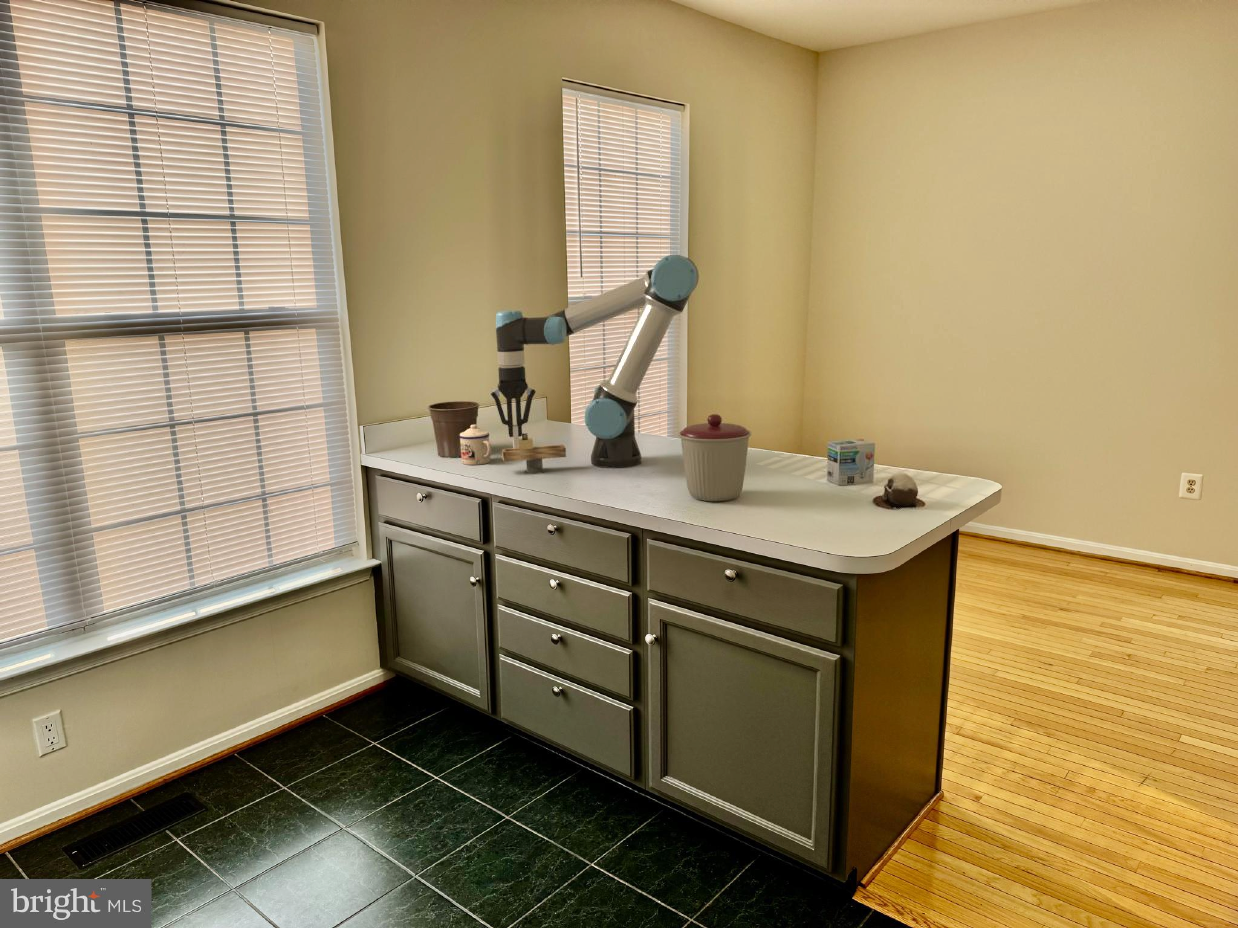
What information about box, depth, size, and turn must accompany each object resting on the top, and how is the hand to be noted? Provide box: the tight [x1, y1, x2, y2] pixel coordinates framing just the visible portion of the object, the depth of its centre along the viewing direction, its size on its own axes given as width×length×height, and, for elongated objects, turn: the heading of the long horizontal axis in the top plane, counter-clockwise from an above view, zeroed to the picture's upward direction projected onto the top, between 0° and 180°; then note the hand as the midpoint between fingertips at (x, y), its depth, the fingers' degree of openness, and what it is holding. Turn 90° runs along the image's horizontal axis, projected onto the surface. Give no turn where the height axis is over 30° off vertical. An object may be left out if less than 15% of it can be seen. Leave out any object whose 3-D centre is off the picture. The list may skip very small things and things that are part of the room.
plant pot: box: [427, 400, 480, 459], centre depth 283 cm, size 16×16×16 cm
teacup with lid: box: [459, 425, 492, 466], centre depth 269 cm, size 12×9×12 cm
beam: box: [501, 444, 567, 474], centre depth 256 cm, size 18×6×7 cm, turn 103°
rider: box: [518, 432, 534, 451], centre depth 255 cm, size 4×3×6 cm
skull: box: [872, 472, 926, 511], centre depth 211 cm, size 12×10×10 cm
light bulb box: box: [826, 438, 876, 486], centre depth 233 cm, size 11×7×11 cm, turn 105°
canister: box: [677, 413, 752, 502], centre depth 220 cm, size 18×18×21 cm
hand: (516, 447), depth 254 cm, fingers closed
